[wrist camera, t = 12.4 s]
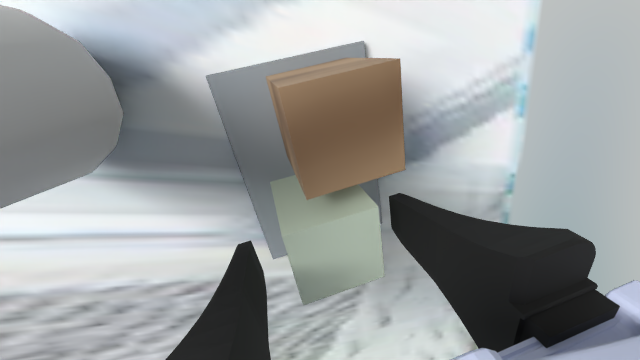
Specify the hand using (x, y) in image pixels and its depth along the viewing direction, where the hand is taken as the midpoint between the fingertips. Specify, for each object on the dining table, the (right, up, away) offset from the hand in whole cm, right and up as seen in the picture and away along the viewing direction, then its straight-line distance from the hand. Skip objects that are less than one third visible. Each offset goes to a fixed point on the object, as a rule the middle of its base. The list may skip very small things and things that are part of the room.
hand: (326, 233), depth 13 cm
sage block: (-1, +1, +2) cm, 3 cm away
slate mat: (-1, +4, +2) cm, 4 cm away
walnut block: (-1, +6, 0) cm, 6 cm away
